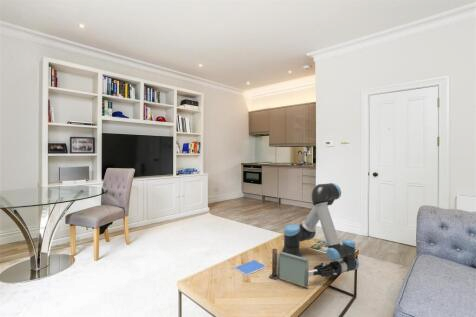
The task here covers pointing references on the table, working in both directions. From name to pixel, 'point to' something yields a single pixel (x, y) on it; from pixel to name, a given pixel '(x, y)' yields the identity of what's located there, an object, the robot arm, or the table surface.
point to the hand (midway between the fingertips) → (308, 273)
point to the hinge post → (274, 265)
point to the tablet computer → (250, 267)
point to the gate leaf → (293, 268)
